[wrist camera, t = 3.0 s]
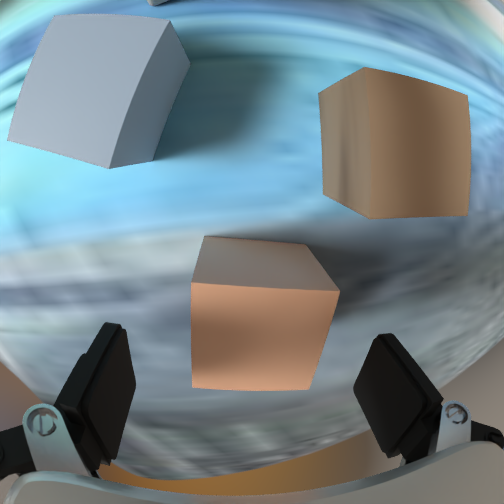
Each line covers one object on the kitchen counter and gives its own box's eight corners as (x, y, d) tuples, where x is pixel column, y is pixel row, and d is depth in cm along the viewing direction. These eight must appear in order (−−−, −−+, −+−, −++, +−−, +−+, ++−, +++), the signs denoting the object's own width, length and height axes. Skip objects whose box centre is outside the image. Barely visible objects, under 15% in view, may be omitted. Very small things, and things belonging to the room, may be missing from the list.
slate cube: (191, 64, 10) (169, 20, 6) (152, 161, 12) (108, 168, 7) (103, 48, 9) (54, 15, 5) (70, 138, 11) (6, 140, 6)
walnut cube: (403, 103, 11) (467, 95, 7) (405, 193, 13) (467, 215, 9) (317, 93, 11) (364, 67, 7) (322, 194, 13) (369, 219, 8)
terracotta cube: (304, 243, 14) (340, 291, 9) (288, 325, 16) (308, 389, 11) (204, 235, 13) (191, 282, 9) (200, 321, 15) (192, 387, 10)
